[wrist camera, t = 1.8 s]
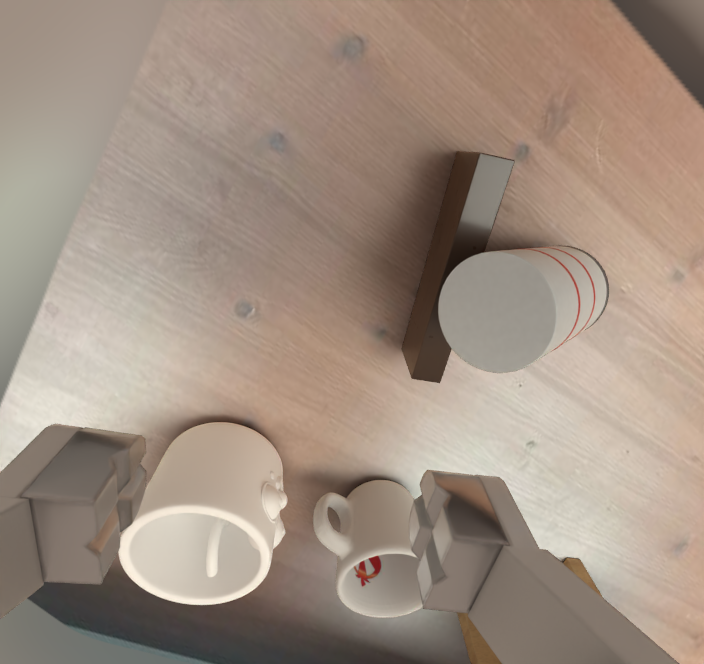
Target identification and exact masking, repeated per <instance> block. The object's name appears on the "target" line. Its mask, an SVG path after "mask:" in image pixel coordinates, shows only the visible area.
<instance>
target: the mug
mask: <svg viewBox="0 0 704 664" xmlns="http://www.w3.org/2000/svg"><path fill="white" fill-rule="evenodd" d="M286 504H287V495H286V494H285V493H284V492H283V467H282V462H281V459H280V456H279V454H278V452H277V451H276V449H275V448H274V446H273V445H272V444H271V443H270V442H269V441H268V440H267V439H266V438H265V437H264V436H262V435H261V434H259V433H258V432H256V431H254V430H252V429H250V428H248V427H245V426H242V425H238V424H234V423H227V422H214V423H206V424H202V425H198V426H195V427H193V428H191V429H188V430H187V431H185V432H183V433H182V434H180V435H179V436H178V437H177V438H176V439H175V440H174V441H173V442H172V443H171V445H170V446H169V447H168V449H167V451H166V452H165V454H164V456H163V458H162V460H161V461H160V463H159V465H158V467H157V469H156V471H155V472H154V474H153V476H152V478H151V480H150V482H149V484H148V486H147V487H146V489H145V493H144V497H143V500H142V503H141V506H140V509H139V511H138V513H137V515H136V517H135V519H134V521H133V523H132V525H130V526H129V527H128V528H126V529H125V530H124V531H123V533H122V535H121V538H120V549H119V550H118V552H119V558H120V562H121V564H122V567H123V568H124V570H125V572H126V573H127V574H128V576H129V577H130V578H131V579H132V580H133V581H134V582H135V583H136V584H138V585H139V586H140V587H142V588H143V589H145V590H146V591H148V592H150V593H152V594H154V595H156V596H158V597H161V598H163V599H166V600H170V601H174V602H178V603H184V604H192V605H210V604H219V603H224V602H228V601H232V600H235V599H237V598H240V597H242V596H244V595H246V594H248V593H249V592H251V591H252V590H254V589H255V588H256V587H257V586H258V585H259V584H260V583H261V582H262V581H263V580H264V578H265V577H266V575H267V573H268V571H269V568H270V564H271V559H272V552H273V548H275V547H276V546H277V545H278V544H279V543H280V541H281V539H282V537H283V536H284V535H285V529H284V525H283V522H282V520H281V518H280V513H279V512H280V510H281V509H283V508H284V507H285V506H286Z"/></svg>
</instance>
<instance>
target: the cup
mask: <svg viewBox="0 0 704 664" xmlns="http://www.w3.org/2000/svg"><path fill="white" fill-rule="evenodd" d="M413 502H414V498H413V496H412V495H411V494H410V492H409V491H408V490H407V489H406V488H404V487H403V486H402V485H400V484H398V483H395V482H392V481H388V480H374V481H369V482H366V483H364V484H362V485H360V486H358V487H357V488H355V489H354V490H353V491H352V492H351V493H350V494H349V496H348V497H347V498H345V497H343V496H341V495H339V494H336V493H327V494H325V495H324V496H322V497H321V498H320V499H319V501H318V502H317V504H316V506H315V509H314V514H313V526H314V530H315V533H316V536H317V537H318V539H319V540H320V542H321V543H322V544H323V545H324V546H325V547H326V548H328V549H329V550H331V551H332V552H334V553H335V554H337V555H338V559H337V570H336V591H337V594H338V596H339V598H340V600H341V601H342V602H343V603H344V604H345V605H346V606H347V607H348V608H349V609H351V610H353V611H355V612H357V613H359V614H362V615H365V616H369V617H376V618H391V617H398V616H403V615H406V614H410V613H412V612H415V611H417V610H419V609H421V608H422V607H423V605H422V600H421V595H420V590H419V586H418V581H417V576H416V571H417V569H418V566H419V563H420V560H419V559H418V558H417V557H416V555H415V554H414V553H413V552H412V551H411V545H410V540H409V518H410V511H411V508H412V505H413ZM328 507H330V508H332V509H333V510H334V511H335V512H336V513H337V514H338V516H339V519H340V523H341V527H340V533H339V532H337V531H336V530H335V529H334V528H333V527H332V526H331V524H330V522H329V519H328V513H327V509H328Z"/></svg>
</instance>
